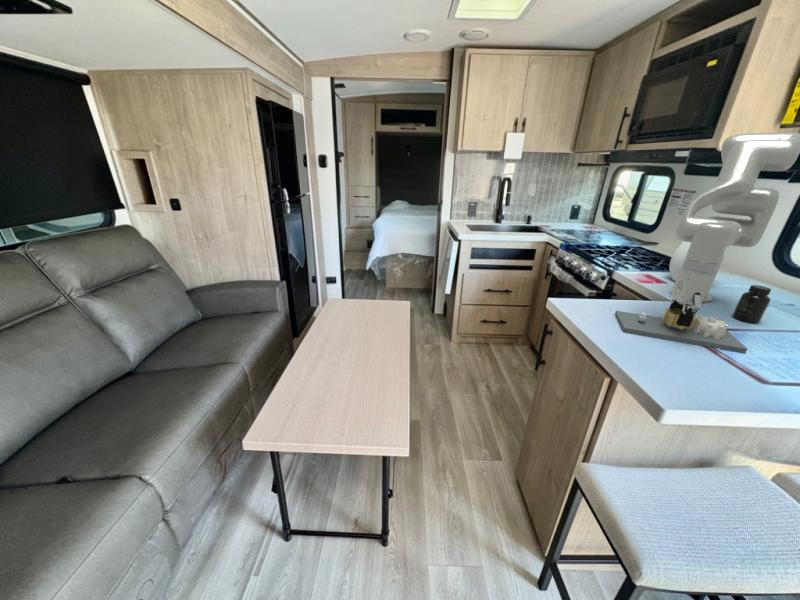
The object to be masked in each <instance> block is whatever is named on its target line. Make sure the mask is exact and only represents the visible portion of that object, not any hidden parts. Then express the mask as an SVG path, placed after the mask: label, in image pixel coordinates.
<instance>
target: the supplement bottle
mask: <svg viewBox="0 0 800 600" xmlns="http://www.w3.org/2000/svg"><path fill="white" fill-rule="evenodd" d="M771 291H772V289H771V288H770V287H767V286H762V285H759V284H758V285H757V284H752V285H750V286H749V289H748V291H746V292H744V293H743V294H741V297H740V298H739V301H738V303H737V305H736V307H735V309H734V311H733V313H732V317H733V318H734V319H735V320H737V321H740V322H744V323H747V324H758V323H760V322H761V320H762V319H763V316H764V314H765V312H766V310H767V309H768V307H769V304H770V303H771V298H770V297H769V295H770V294H771Z"/></svg>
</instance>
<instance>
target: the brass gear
mask: <svg viewBox="0 0 800 600" xmlns="http://www.w3.org/2000/svg"><path fill="white" fill-rule="evenodd" d="M682 312H683V309H679V308H670V307H666V308H665V311H664V313H663V316H662V317H661V318H662V322H663V323H666V324H667V325H668V326H670V327H671V326H673V327H676V328H678V329H688V330H689V329H691V327H692V325H693V322H694V320H695V318H696V317H697V314H695V316H694V317H693V320H692V322H691V324H690V326H689V327H685V326H679V325H677V324H676V323H677V320H678V318H679V315H680V313H682Z"/></svg>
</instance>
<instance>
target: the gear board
mask: <svg viewBox="0 0 800 600" xmlns="http://www.w3.org/2000/svg"><path fill="white" fill-rule="evenodd" d="M615 315H616V316H615ZM614 316H615V319H616V320H617V322H618V325H619V327H620V328H621V331H622V333H627V334H630V335H631V334H632V335H638V336H644V337H650V338H654V339H655V338H656V339H659V340H667V341H671V342H672V341H673V342H677V343H683V344H689V345H696V346H699V347H700V346H701V347H705V346H708V348H711V347H714V348H713V349H717V348H720V349H719V350H723V349H726V350H725V351H728V350H731V351H730V352H734V351H735V352H736V353H740V354H746V353H747V350H748V348H747V347H746V346H745V345H744V344H743V343H742V342H741V341H739V340H738V339H737V338H736V337H735V336H734V335H733V334H732V333H731V332H729V331H728V330H727V329H728V327H729V325H728V324H727V323H726V322H725V321H724V320H718V319H715V317H712V316H710V317H709V316H704V315H699V316H698V317H697V316H696V318H695V320H694V322H693V325H692V327H691V329H689V330H688V329H678V328H676V327H673V326H671V327H670V326H668V325H667V324H666V323H663V322H662V318H663V317H659V316H653V315H648V313H647V312H645V311H644V312H643V311H642V312H641V313H635V312H628V311H620V310H615V313H614Z"/></svg>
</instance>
